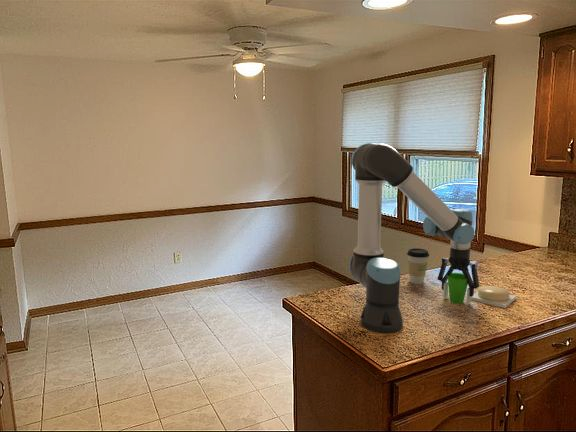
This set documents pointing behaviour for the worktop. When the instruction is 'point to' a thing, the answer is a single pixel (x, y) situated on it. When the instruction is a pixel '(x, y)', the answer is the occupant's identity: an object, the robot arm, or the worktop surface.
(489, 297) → the domed square tile
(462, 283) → the cup
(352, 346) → the worktop surface
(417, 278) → the coffee cup
